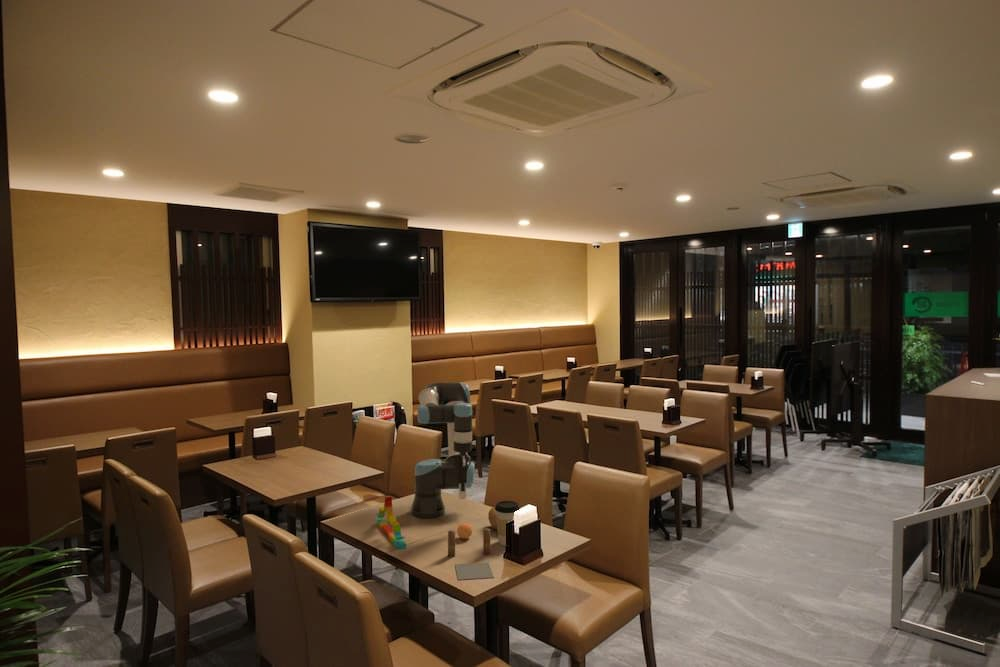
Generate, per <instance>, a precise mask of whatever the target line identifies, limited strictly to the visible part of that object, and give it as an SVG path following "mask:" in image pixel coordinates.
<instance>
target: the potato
mask: <svg viewBox="0 0 1000 667" xmlns="http://www.w3.org/2000/svg"><path fill="white" fill-rule="evenodd" d="M487 516H488V521H489V524H490V526H491V527H493V528H494V529H495V530H497V520H496V510H495V506H494V507H492V508H490V509H489V511H488V514H487Z"/></svg>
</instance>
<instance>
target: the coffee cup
mask: <svg viewBox="0 0 1000 667" xmlns="http://www.w3.org/2000/svg"><path fill="white" fill-rule="evenodd" d="M494 507H495V510H496V520H497V529H496V530H497V534H498V543H499V544H500V545H502V546H507V545H506V543H505V536H506V523H507V522H508V521H511V520H512V519H513V516H514V512H515V511H517V510H519V509H520V510H521V507H520V505H519V503H518V502H517V501H514V500H501V501H498V502H497V503H496V504H495V506H494ZM520 510H519V511H520Z"/></svg>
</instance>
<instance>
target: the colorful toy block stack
mask: <svg viewBox="0 0 1000 667" xmlns="http://www.w3.org/2000/svg"><path fill="white" fill-rule="evenodd" d="M392 498H393V497H392V496H386V497H385V498H384V504H383V506H380V507H379V511H378V513H376V516H377V518H379V519H376V525H377V526H378V527H379V528H380V530H382V532H383V533H384V534H385V536H387V538H388V539H389V540H390V542H392V543H393V545H394V546H395V547H396V549H397V550H401V549H403V550H404V549H407V543H406V542H405V540H403V539H405V538H406V536H403V535H402V532H401V525H400V522H399V521H398V520H397V515H396V514H394V513H393V512H394V511H393V510H394V509H393V499H392ZM385 515H386V520H387V521H389V523H388V522H387V521H386V520H385ZM397 521H398V522H397Z"/></svg>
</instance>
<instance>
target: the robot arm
mask: <svg viewBox="0 0 1000 667" xmlns="http://www.w3.org/2000/svg"><path fill="white" fill-rule="evenodd" d="M418 402H419V403H420V405H418V406H417V422H418V424H425V425H427V424H447V447H448V455H447V457H446V458H445V462H442V460H441V459H440V458H427V459H424V460H421V461H419V462H418V463H417V464H416V465H415V467H414V498H413V501H412V504H411V507H410V515H411V516H413V517H415V518H420V519H433V518H434V519H435V518H439V517H441V516H444V514H446V508H445V507H446V506H445V503H444V501H443V498H442V490H458V499H459V500H462V499H463V500H466V499H467V489H470V488H472V487H473V485H474V476H475V464H476V463H475V462H474V461H472V459H471V458H472V457H471V456H470V455H468V453H470V452H471V451H472V450H473V448H472V447H473V442H472V441H473V405H472V404H471V392H470V388H469V385H468V384H467V383H466V382H464V381H463V382H462V381H461V382H460V381H456V382H450V381H448V382H443V381H442V382H437V381H436V382H433V383H429V384H427V385H425V386H424V387H423V388H421V390H420V391H419V393H418Z"/></svg>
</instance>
